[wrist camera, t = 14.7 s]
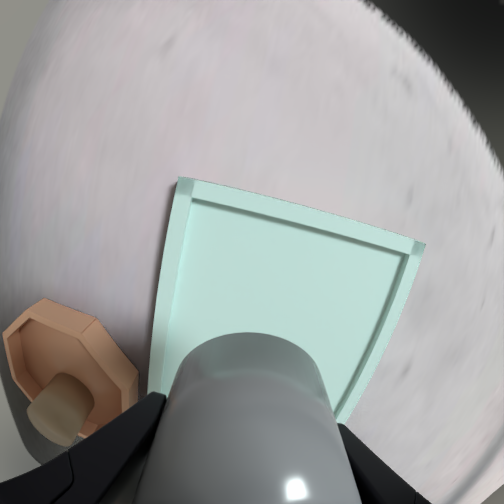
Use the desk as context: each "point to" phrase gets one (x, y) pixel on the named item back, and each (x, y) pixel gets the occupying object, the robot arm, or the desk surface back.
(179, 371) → the grey rounded lump
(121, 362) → the dish
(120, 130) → the desk surface
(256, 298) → the parts tray
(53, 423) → the river pebble
